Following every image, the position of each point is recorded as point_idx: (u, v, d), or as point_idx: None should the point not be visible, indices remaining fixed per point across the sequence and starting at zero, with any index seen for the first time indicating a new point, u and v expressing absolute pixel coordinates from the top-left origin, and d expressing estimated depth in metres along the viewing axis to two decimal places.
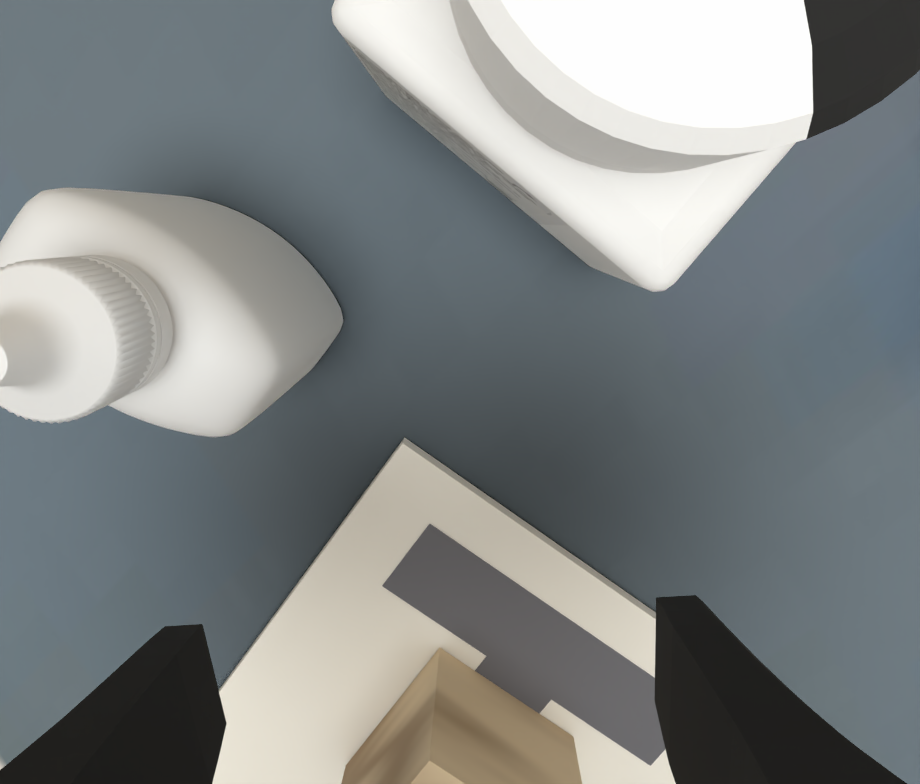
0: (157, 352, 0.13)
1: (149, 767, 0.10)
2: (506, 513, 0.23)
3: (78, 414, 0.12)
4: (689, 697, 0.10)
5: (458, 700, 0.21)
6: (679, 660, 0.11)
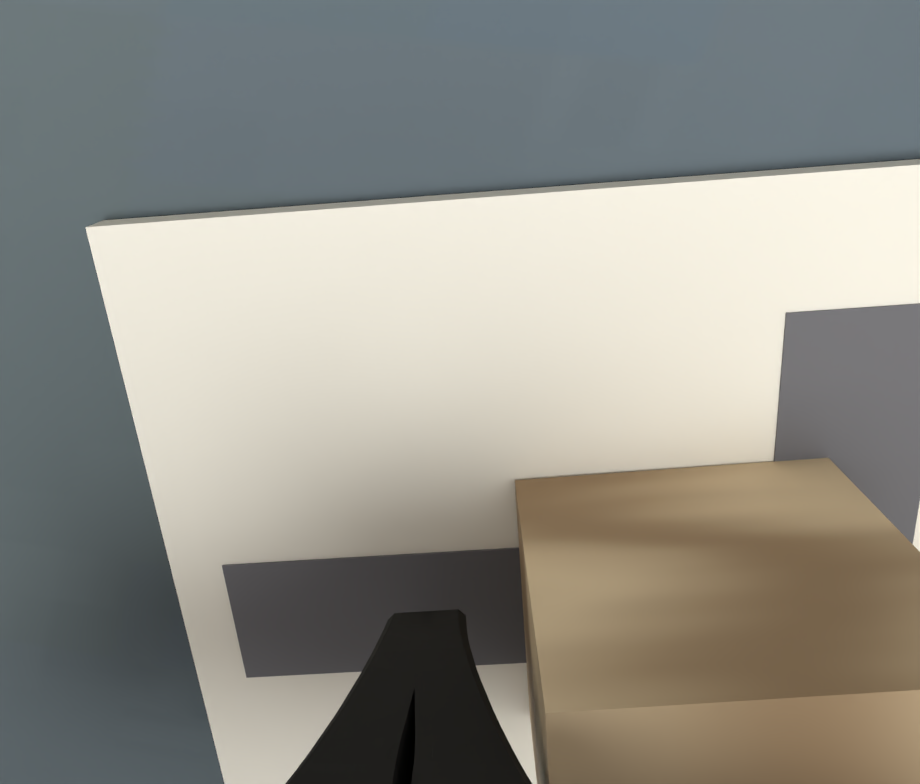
0: None
1: None
2: None
3: None
4: None
5: None
6: None
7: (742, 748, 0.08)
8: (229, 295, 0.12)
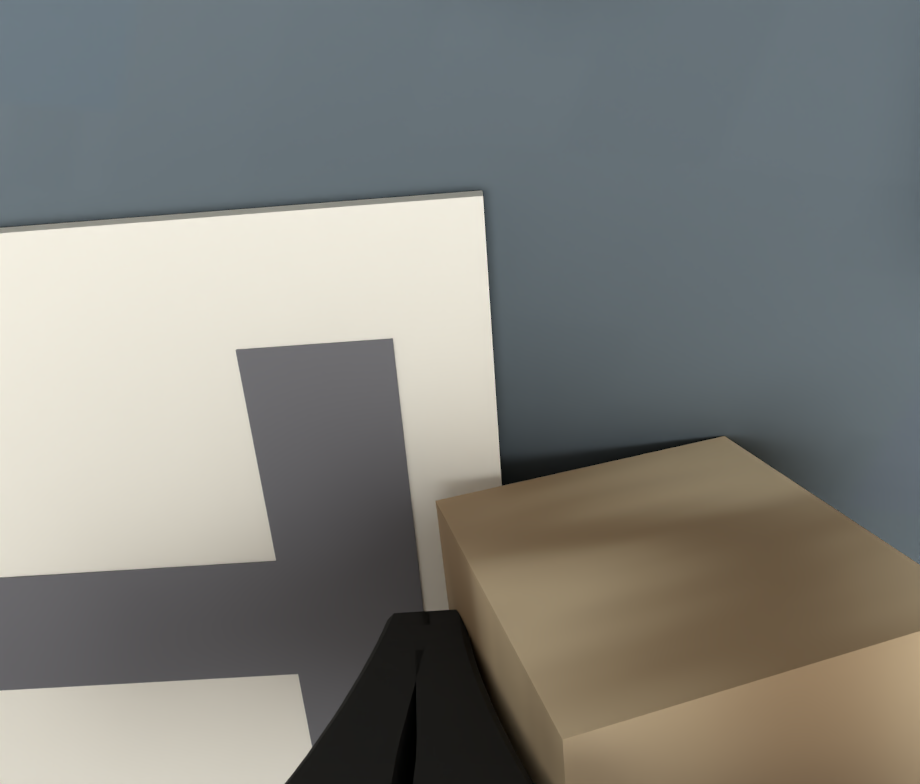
0: None
1: None
2: (497, 425, 0.13)
3: None
4: None
5: None
6: None
7: (746, 731, 0.08)
8: None
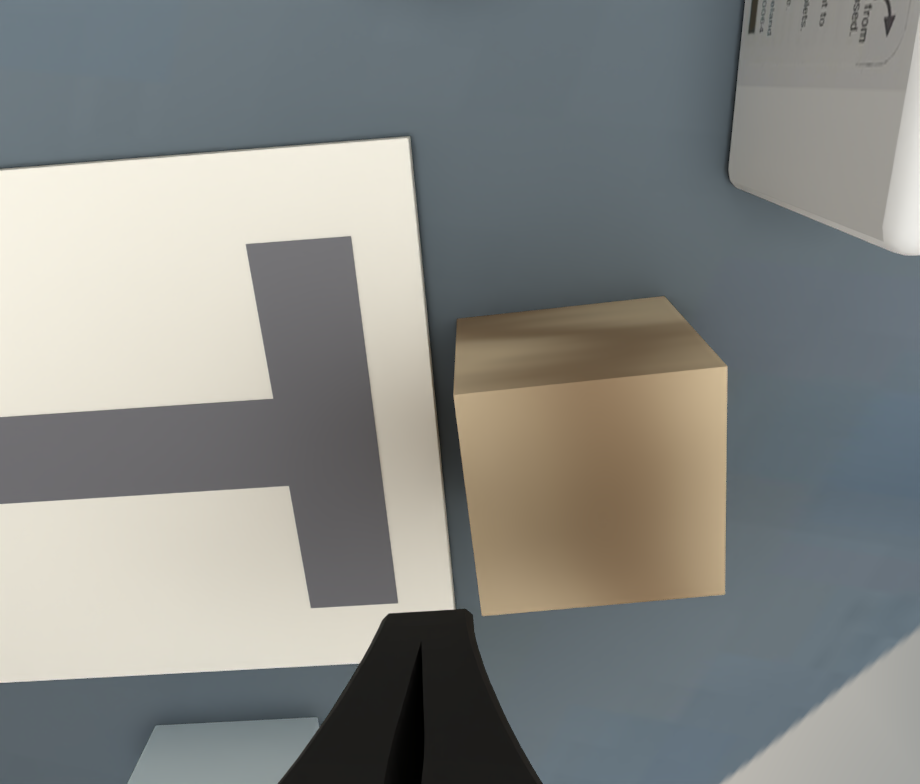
0: None
1: (414, 753, 0.10)
2: (424, 299, 0.18)
3: None
4: None
5: None
6: None
7: (564, 415, 0.15)
8: None
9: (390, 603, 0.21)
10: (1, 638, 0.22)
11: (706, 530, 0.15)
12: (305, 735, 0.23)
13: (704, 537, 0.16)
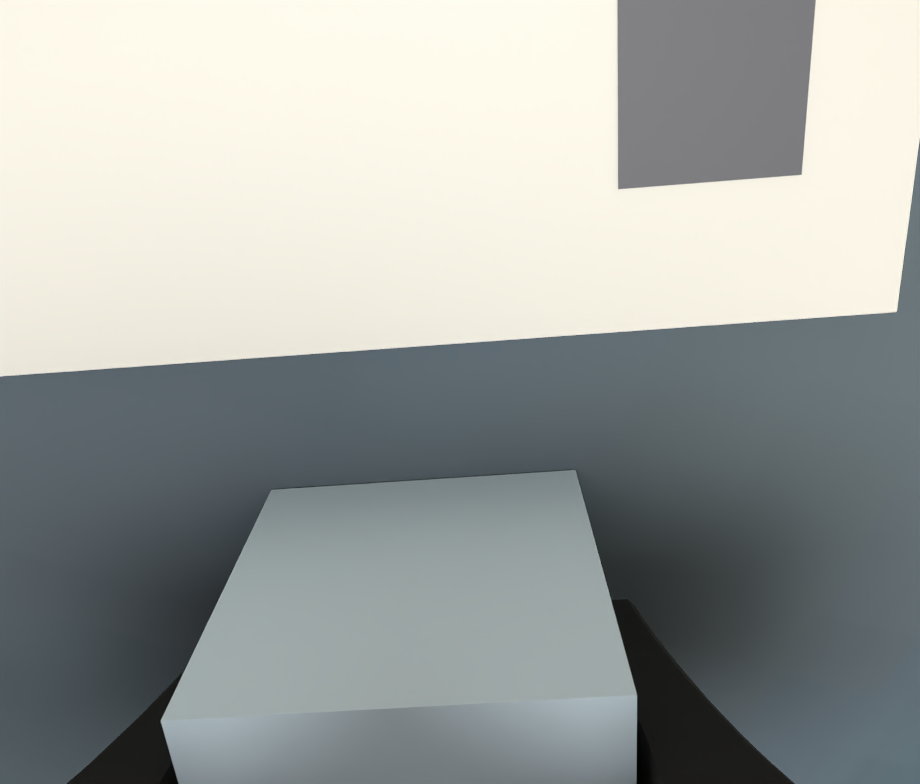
0: None
1: None
2: None
3: None
4: None
5: None
6: None
7: None
8: None
9: (784, 177, 0.10)
10: None
11: None
12: (566, 495, 0.12)
13: None
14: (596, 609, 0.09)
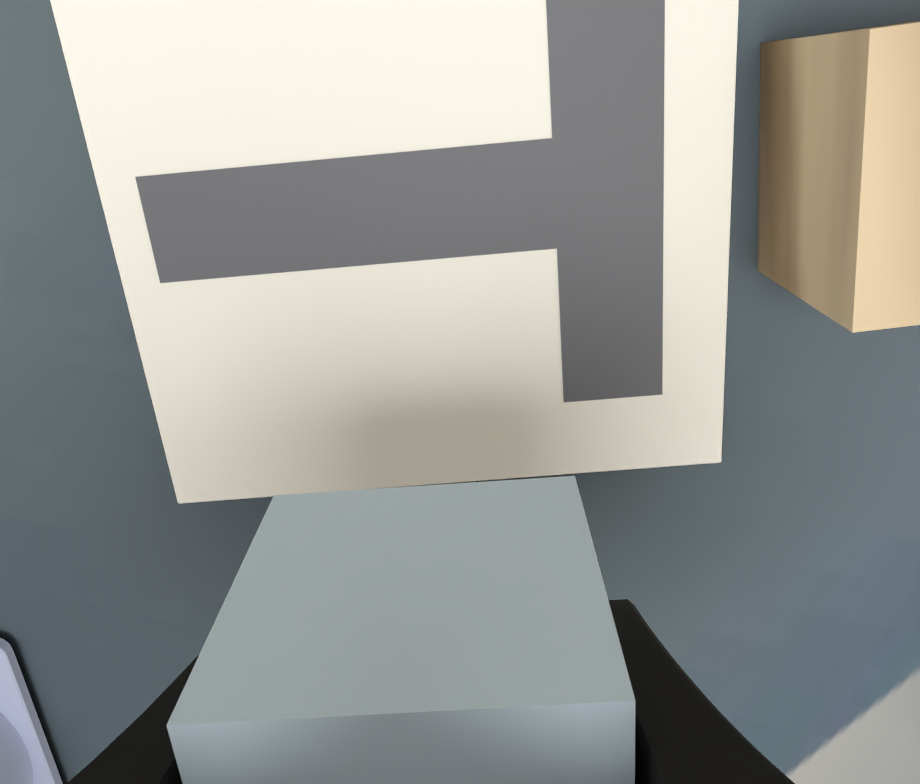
0: None
1: None
2: (735, 10, 0.16)
3: None
4: None
5: None
6: None
7: None
8: None
9: (653, 395, 0.19)
10: (213, 446, 0.20)
11: None
12: (565, 501, 0.12)
13: None
14: (595, 615, 0.10)
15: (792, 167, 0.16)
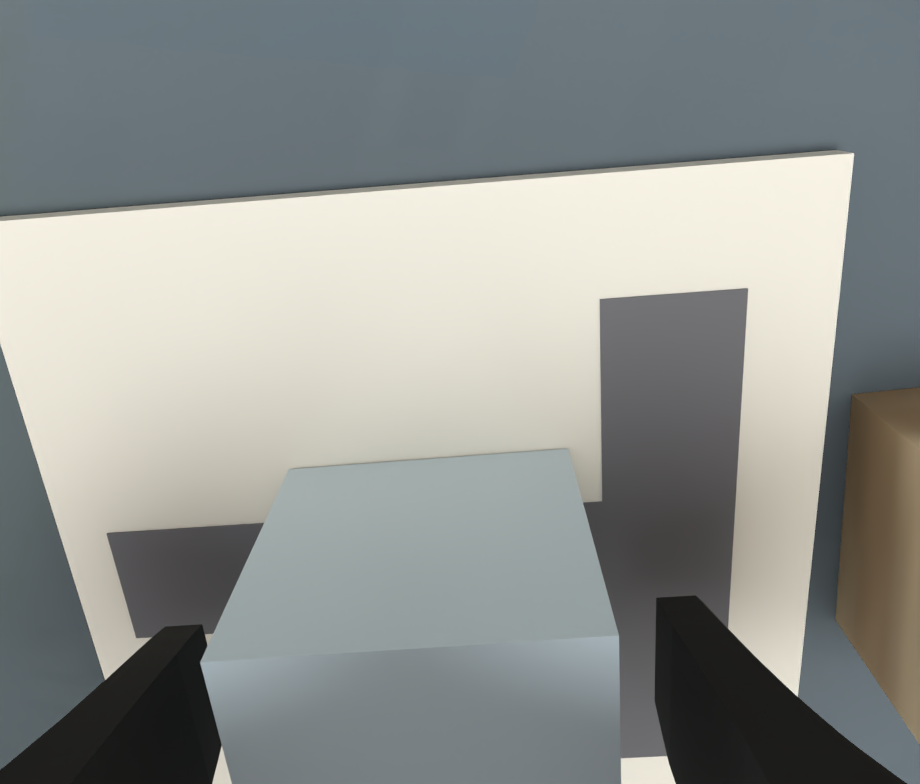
0: None
1: (149, 767, 0.10)
2: None
3: None
4: (689, 697, 0.10)
5: None
6: (679, 660, 0.11)
7: None
8: (96, 285, 0.13)
9: None
10: None
11: None
12: (559, 470, 0.13)
13: None
14: (584, 566, 0.10)
15: (894, 568, 0.13)
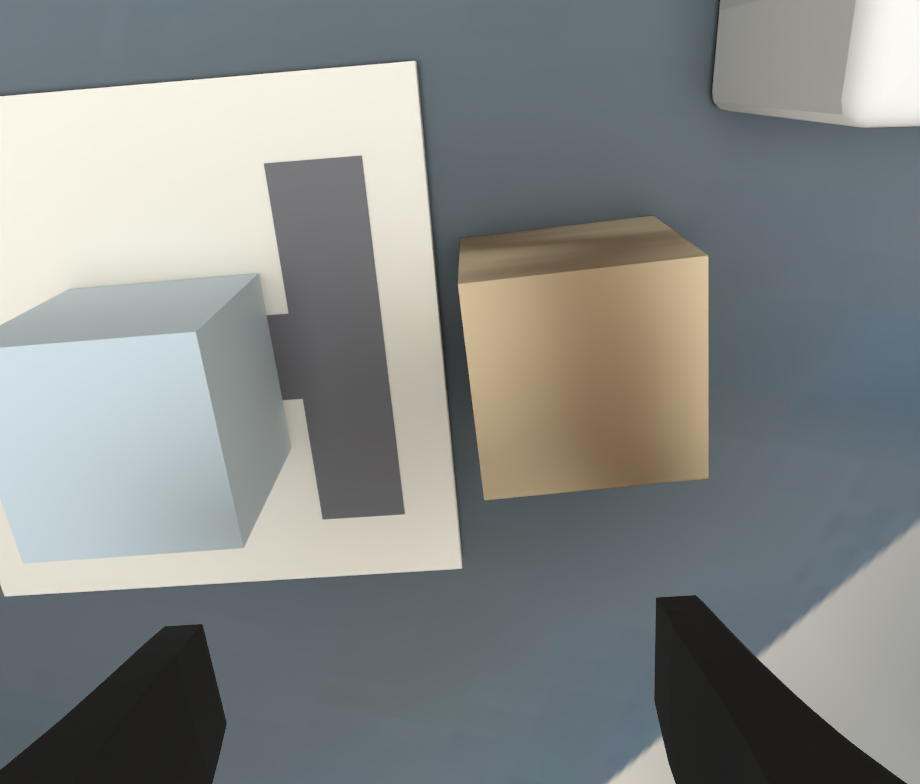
0: None
1: (149, 767, 0.10)
2: (430, 217, 0.20)
3: None
4: (689, 697, 0.10)
5: None
6: (679, 660, 0.11)
7: (560, 303, 0.16)
8: None
9: (397, 514, 0.23)
10: None
11: (690, 415, 0.17)
12: (241, 281, 0.19)
13: (689, 422, 0.17)
14: (207, 312, 0.17)
15: None
